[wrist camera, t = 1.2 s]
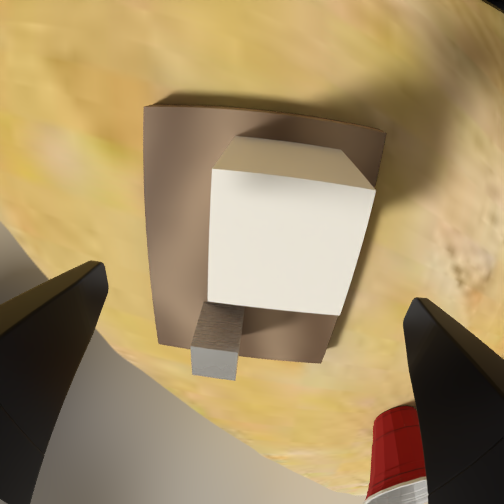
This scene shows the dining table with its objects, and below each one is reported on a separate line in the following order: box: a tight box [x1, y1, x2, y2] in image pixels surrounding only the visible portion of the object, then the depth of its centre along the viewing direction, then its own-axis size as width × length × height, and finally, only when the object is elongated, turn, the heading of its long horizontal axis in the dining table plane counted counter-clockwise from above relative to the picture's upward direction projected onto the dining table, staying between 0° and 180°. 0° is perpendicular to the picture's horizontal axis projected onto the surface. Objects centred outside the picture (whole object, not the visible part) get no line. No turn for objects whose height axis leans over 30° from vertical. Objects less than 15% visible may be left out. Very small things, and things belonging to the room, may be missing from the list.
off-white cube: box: [208, 136, 376, 316], centre depth 16 cm, size 6×6×7 cm
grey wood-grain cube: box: [191, 302, 244, 381], centre depth 22 cm, size 3×3×4 cm
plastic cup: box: [363, 406, 429, 504], centre depth 28 cm, size 11×11×12 cm
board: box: [143, 104, 386, 363], centre depth 22 cm, size 14×19×2 cm
